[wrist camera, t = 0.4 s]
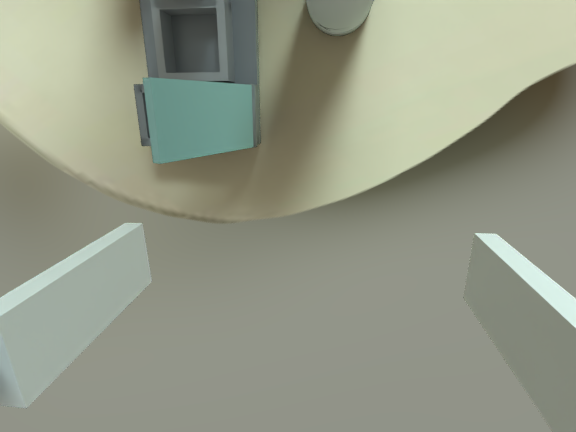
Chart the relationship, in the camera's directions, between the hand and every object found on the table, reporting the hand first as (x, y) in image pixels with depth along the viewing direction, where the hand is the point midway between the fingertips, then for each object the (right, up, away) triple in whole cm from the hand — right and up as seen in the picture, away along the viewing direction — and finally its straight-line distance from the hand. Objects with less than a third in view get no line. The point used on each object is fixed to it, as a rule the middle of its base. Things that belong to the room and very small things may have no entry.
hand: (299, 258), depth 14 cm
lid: (-7, +10, +15) cm, 20 cm away
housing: (-9, +20, +23) cm, 32 cm away
